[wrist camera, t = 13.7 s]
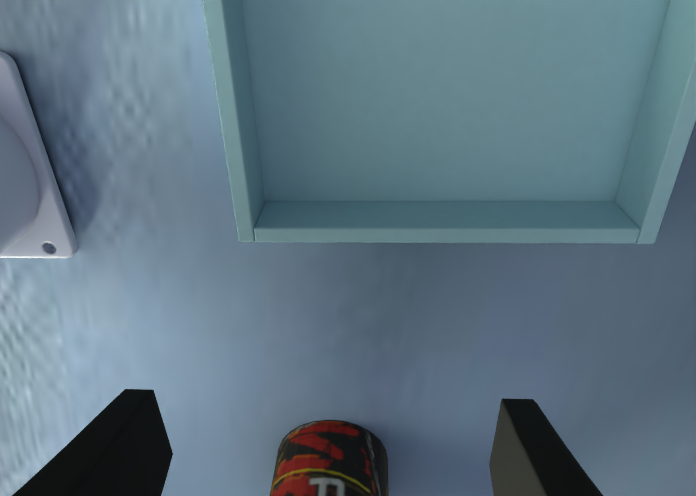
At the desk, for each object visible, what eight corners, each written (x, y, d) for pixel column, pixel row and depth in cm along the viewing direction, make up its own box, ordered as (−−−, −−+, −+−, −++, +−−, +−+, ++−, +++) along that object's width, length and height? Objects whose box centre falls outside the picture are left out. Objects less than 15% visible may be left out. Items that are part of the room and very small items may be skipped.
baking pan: (252, 210, 20) (238, 242, 18) (193, -246, 13) (157, -285, 11) (623, 211, 19) (654, 245, 17) (762, -272, 12) (843, -318, 10)
